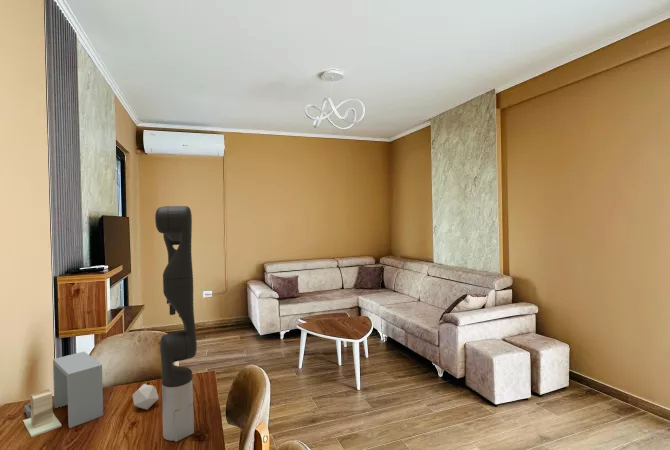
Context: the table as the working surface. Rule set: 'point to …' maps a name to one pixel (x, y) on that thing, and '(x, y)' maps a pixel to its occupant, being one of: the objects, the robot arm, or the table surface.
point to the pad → (42, 428)
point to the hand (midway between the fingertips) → (177, 315)
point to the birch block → (41, 408)
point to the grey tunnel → (78, 387)
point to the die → (145, 396)
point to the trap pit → (28, 410)
